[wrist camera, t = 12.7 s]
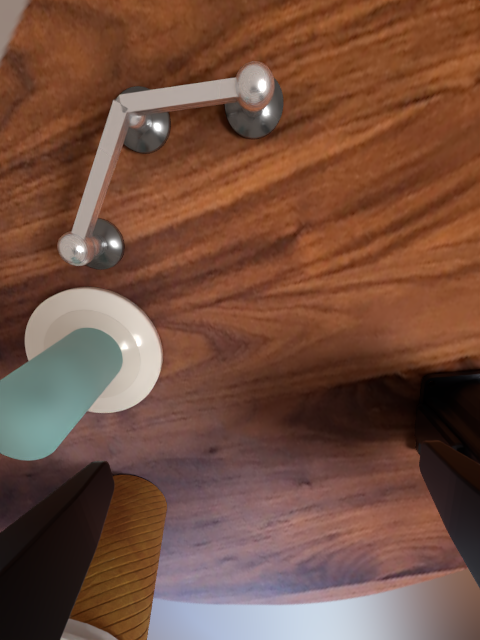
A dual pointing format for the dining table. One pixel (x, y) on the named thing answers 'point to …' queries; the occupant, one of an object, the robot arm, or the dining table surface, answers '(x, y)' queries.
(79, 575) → the robot arm
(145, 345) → the saucer
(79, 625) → the disposable coffee cup
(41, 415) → the peg
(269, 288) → the dining table surface
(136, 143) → the railing
